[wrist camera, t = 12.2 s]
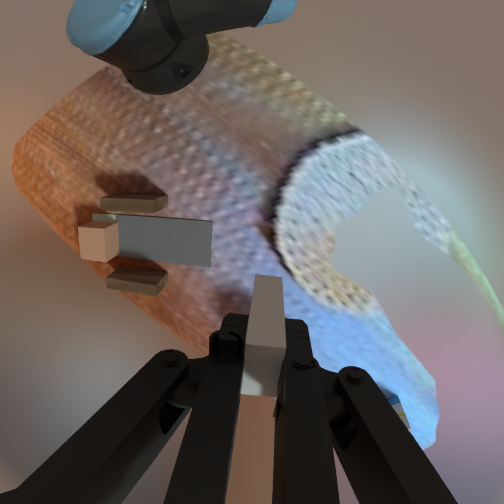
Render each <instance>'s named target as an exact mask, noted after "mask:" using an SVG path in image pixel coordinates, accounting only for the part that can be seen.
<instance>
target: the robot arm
mask: <svg viewBox="0 0 504 504" xmlns="http://www.w3.org/2000/svg"><path fill="white" fill-rule="evenodd" d="M296 4H297V0H75V2H74V4H73V6H72V8H71V10H70V12H69V15H68V18H67V25H66V32H67V36H68V38H69V40H70V42H71V43H72V44H73V45H75V46H76V47H78V48H80V49H81V50H83V52H84V53H86V54H88V55H92V56H94V57H96V58H98V59H101V60H103V61H105V62H107V63H109V64H112V65H114V66H116V67H118V68H120V69H122V71H123V73H124V75H125V77H126V79H127V80H128V82H129V83H130V84H131V85H132V86H133V87H135V88H136V89H138V90H140V91H142V92H145V93H147V94H152V95H164V94H169V93H172V92H175V91H178V90H180V89H182V88H183V87H185V86H187V85H188V84H189V83H191V82H192V81H193V80H194V79H195V78H196V77H197V76H198V75H199V74H200V72H201V71H202V69H203V68H204V66H205V64H206V61H207V58H208V54H209V44H208V40H207V38H206V36H205V35H206V34H211V33H215V32H220V31H225V30H230V29H236V28H242V27H249V26H251V27H258V26H261V25H263V24H271V23H278V22H282V21H284V20H286V19H287V18H289V17H290V16H291V14H292V13H293V12H294V10H295V7H296ZM240 394H249V395H258V396H269V397H276V394H277V401H276V406H275V409H274V413H273V417H275V437H274V469H273V493H272V504H340V502H339V493H338V485H337V476H336V468H335V461H334V453H333V448H334V450H335V452H336V454H337V456H338V458H339V461H340V463H341V465H342V467H343V469H344V471H345V474H346V476H347V478H348V480H349V482H350V484H351V487H352V489H353V491H354V493H355V495H356V497H357V500H358V502H359V504H458V503H457V502H456V500H455V499H454V497H453V495H452V494H451V492H450V491H449V489H448V488H447V486H446V485H445V483H444V482H443V480H442V479H441V477H440V476H439V474H438V473H437V471H436V470H435V468H434V467H433V465H432V464H431V462H430V461H429V459H428V458H427V457H426V455H425V453H424V452H423V450H422V449H421V447H420V446H419V444H418V443H417V442H416V440H415V439H414V437H413V436H412V434H411V433H410V431H409V430H408V428H407V427H406V426H405V424H404V423H403V421H402V420H401V418H400V417H399V416H398V414H397V413H396V411H395V410H394V408H393V407H392V406H391V404H390V403H389V401H388V400H387V398H386V397H385V396H384V394H383V393H382V391H381V390H380V389H379V387H378V386H377V384H376V383H375V382H374V380H373V379H372V377H371V376H370V375H369V374H368V373H367V372H366V371H365V370H363V369H361V368H359V367H355V366H347V367H344V368H342V369H341V370H340V371H339V373H335V372H331V371H328V370H325V369H323V368H321V367H320V366H319V363H318V361H317V360H316V359H315V358H314V357H313V354H312V348H311V342H310V337H309V331H308V326H307V325H306V323H305V322H304V321H303V320H299V319H288V318H285V316H284V300H283V285H282V277H276V276H266V275H257V274H256V275H255V282H254V289H253V295H252V302H251V308H250V314H249V315H242V314H234V313H229V314H228V315H226V316H225V317H224V318H223V321H222V325H221V328H220V330H217V331H215V332H213V333H212V334H211V335H210V337H209V355H208V356H206V357H203V358H198V359H188V357H187V356H186V355H185V353H183V352H181V351H178V350H174V349H171V350H170V349H169V350H163V351H160V352H159V353H157V354H156V355H155V356H154V357H153V358H152V359H151V360H150V361H149V362H148V363H146V364H145V366H144V367H142V368H141V369H140V370H139V371H138V372H137V373H136V374H135V375H134V376H133V377H132V378H131V379H130V380H129V381H128V382H127V383H126V384H125V385H124V386H123V387H122V388H121V389H120V390H119V391H118V392H117V393H116V394H115V395H114V396H113V397H112V398H111V399H110V400H108V401H107V403H105V404H104V405H103V406H102V407H101V408H100V409H99V410H98V411H97V412H96V413H95V414H94V415H93V416H92V417H91V418H90V419H89V420H88V421H87V422H86V423H85V424H84V425H83V426H82V427H81V428H80V429H78V430H77V431H76V432H75V433H74V434H73V435H72V436H71V437H70V438H69V439H68V440H67V441H66V442H65V443H64V444H63V445H62V446H61V447H60V448H59V449H58V450H57V451H56V452H55V453H54V454H53V455H51V456H50V457H49V458H48V459H47V460H46V461H45V462H44V463H43V464H42V465H41V466H40V467H39V468H38V469H37V470H36V471H35V472H34V473H33V474H32V475H30V476H29V477H28V478H27V479H26V480H25V481H24V482H23V483H22V484H21V485H20V486H19V487H18V488H16V489H13V490H11V491H7V492H4V493H1V494H0V504H121V503H122V502H123V500H124V499H125V498H126V496H127V495H128V494H129V493H130V491H131V490H132V489H133V487H134V486H135V485H136V484H137V482H138V481H139V480H140V478H141V477H142V475H143V474H144V473H145V472H146V470H147V469H148V468H149V466H150V465H151V464H152V462H153V461H154V460H155V458H156V457H157V456H158V454H159V453H160V451H161V450H162V449H163V447H164V446H165V445H166V443H167V442H168V440H169V439H170V437H171V436H172V435H173V434H174V432H175V431H176V429H177V428H178V426H179V425H180V424H181V422H182V421H183V419H184V418H185V417H186V415H187V414H188V412H189V411H190V409H191V408H192V411H191V414H190V418H189V421H188V424H187V427H186V431H185V434H184V437H183V440H182V443H181V447H180V450H179V454H178V457H177V460H176V463H175V467H174V470H173V473H172V477H171V480H170V484H169V487H168V490H167V494H166V497H165V500H164V504H225V499H226V492H227V485H228V479H229V472H230V466H231V459H232V452H233V445H234V439H235V432H236V425H237V418H238V410H239V404H240ZM332 445H333V446H332Z"/></svg>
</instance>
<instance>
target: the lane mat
mask: <svg viewBox="0 0 504 504" xmlns="http://www.w3.org/2000/svg"><path fill="white" fill-rule="evenodd" d="M93 221H106V222H118V235H119V251H120V253H119V254H118V255H116V256H121V257H129V258H137V259H145V260H153V261H161V262H170V263H178V264H187V265H196V266H205V267H210V265H211V239H212V222H210V221H198V220H186V219H173V218H159V217H145V216H130V215H114V214H96V213H93Z"/></svg>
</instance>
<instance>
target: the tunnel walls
mask: <svg viewBox="0 0 504 504" xmlns="http://www.w3.org/2000/svg"><path fill="white" fill-rule="evenodd" d="M167 201H168V195H157V194H130V193H117V194H113V195H109V196H106V197H102V198H100V210H109V211H127V212H144V213H155V212H157V211H159V210H161V209H163V208H165V207H167ZM167 283H168V272H163V271H156V270H148V269H141V268H133V267H126V266H120V267H119V268H117V269H116V270H115V271H114V272H112V273H111V274H110V275H108V276H107V277H106V285H107V288H110V289H115V290H121V291H127V292H132V293H138V294H144V295H150V296H157V295H158V294H159V293H160V291H161V290H162V289H163V288H164V286H165V285H166V284H167Z"/></svg>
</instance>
